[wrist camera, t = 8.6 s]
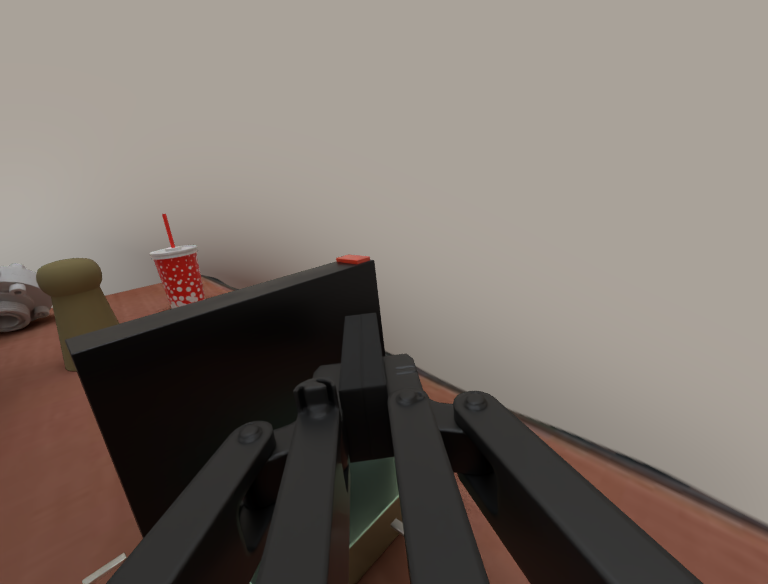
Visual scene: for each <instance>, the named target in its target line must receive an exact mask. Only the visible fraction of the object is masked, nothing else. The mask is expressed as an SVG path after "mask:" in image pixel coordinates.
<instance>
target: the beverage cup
mask: <svg viewBox="0 0 768 584" xmlns="http://www.w3.org/2000/svg"><path fill="white" fill-rule="evenodd" d="M162 216H163V219H164V223H165V227H166V230H167V234H168V237H169V241H170V244H171V247H170V248H166V249H161V250H157V251H154V252H151V253H150V256H151V259H153V260H154V262H155V265H156V267H157V270H158V273H159V275H160V278H161V281H162V283H163V286H164V289H165V291H166V294H167V297H168V300H169V302H170V305H171V308H172V309H173V308H177V307H180V306H184V305H187V304H191V303H194V302H197V301H201V300H204V299H205V295H204V290H203V285H202V280H201V275H200V270H199V265H198V259H197V254H196V252H197V251H198V250H197V246H196V245H188V246H176V247H175V245H174V242H173V238H172V234H171V231H170V227H169V223H168V220H167V216H166V214H163V215H162Z"/></svg>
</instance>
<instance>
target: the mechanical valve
mask: <svg viewBox="0 0 768 584" xmlns="http://www.w3.org/2000/svg"><path fill="white" fill-rule="evenodd" d="M36 274H37V273H36V272H33V271H31V270H27V269H26V268H25V267H24V266H23V265H22V264H11V265H9V266H0V332H9V331H15V330H19V329H21V328H24V327H26V326H27V325H28V324H29V323H30V321H33V320H36V319H38V318H44V317H47V316H48V315H49V310H50V309H51V306H52V301H51V296H49V295H47V294H46V293H44V292H43V291H42V290H41V289H40V288H39V286H38V284H37V281H36Z"/></svg>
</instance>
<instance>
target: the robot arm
mask: <svg viewBox="0 0 768 584" xmlns="http://www.w3.org/2000/svg"><path fill="white" fill-rule="evenodd" d="M293 392H294V397H295V402H296V407H297V412H298V416H297V420H296V421H294V422H293V423H291V424H289V425H286V426H284V427H281V428H278V429H275V430H273V428H272V425H271V424H270V423H269V422H266V421H253V422H249V423H246V424H244V425H242V426H240V427H238V428H237V429H235V430H234V431H233V432H232V433H231V434H230V435H229V436H228V437H227V439H226V440H225V441H224V442H223V443H222V445H221V446H220V447H219V448H218V449H217V451H216V452H215V453H214V454H213V455H212V457H211V458H210V459H209V460H208V461H207V463H206V464H205V465H204V466H203V467H202V469H201V470H200V471H199V472H198V473H197V475H196V476H195V477H194V478H193V480H192V481H191V482H190V483H189V484H188V486H187V487H186V488H185V489H184V490H183V492H182V493H181V494H180V495H179V496H178V498H177V499H176V500H175V501H174V502H173V504H172V505H171V506H170V507H169V508H168V510H167V511H166V512H165V513H164V514H163V516H162V517H161V518H160V519H159V520H158V522H157V523H156V524H155V525H154V526H153V528H152V529H151V530H150V531H149V532H148V534H147V535H146V536H145V537H144V538H143V540H142V541H141V542H140V543H139V544H138V546H137V547H136V548H135V549H134V550H133V552H132V553H131V554H130V555H129V557H128V558H127V559H126V560H125V561H124V563H123V564H122V565H121V566H120V567H119V569H118V570H117V571H116V572H115V573H114V575H113V576H112V577H111V578H110V579H109V581H108V582H107V583H106V584H249V583H250V581H251V579H252V577H253V575H254V573H255V571H256V569H257V567H258V565H259V563H260V561H261V564H260V568H259V572H258V576H257V580H256V584H349V532H350V477H351V475H350V469H349V463H348V460H349V459H350V463H354V462H361V461H368V460H375V459H382V458H390V457H394V461H395V469H396V477H397V486H398V492H399V500H400V507H401V515H402V523H403V530H404V538H405V546H406V554H407V561H408V569H409V577H410V584H490V583H489V580H488V577H487V574H486V571H485V568H484V565H483V562H482V559H481V556H480V553H479V550H478V547H477V544H476V540H475V537H474V534H473V531H472V528H471V525H470V522H469V519H468V516H467V513H466V510H465V507H464V504H463V501H462V498H461V495H460V492H459V488H458V485H457V482H456V479H455V476H454V473H453V472H455V473H457V474H458V477H459V479H460V481H461V482H462V484H463V485H464V487H465V488H466V490H467V491H468V493H469V494H470V495H471V497H472V498H473V500H474V501H475V503H476V504H477V506H478V507H479V509H480V510H481V512H482V513H483V515H484V516H485V517H486V519H487V520H488V522H489V523H490V525H491V526H492V528H493V529H494V531H495V532H496V534H497V535H498V537H499V538H500V540H501V541H502V542H503V544H504V545H505V547H506V548H507V550H508V551H509V553H510V554H511V556H512V557H513V559H514V560H515V562H516V563H517V564H518V566H519V567H520V569H521V570H522V572H523V573H524V575H525V576H526V578H527V579H528V581H529V582H530V584H703V583H702V582H701V581H700V580H699V579H697V578H696V577H695V576H694V575H693V574H692V573H691V572H690V571H689V570H687V569H686V568H685V567H684V566H683V565H682V564H681V563H680V562H678V561H677V560H676V559H675V558H674V557H673V556H672V555H671V554H669V553H668V552H667V551H666V550H665V549H664V548H663V547H662V546H660V545H659V544H658V543H657V542H656V541H655V540H654V539H653V538H651V537H650V536H649V535H648V534H647V533H646V532H645V531H644V530H642V529H641V528H640V527H639V526H638V525H637V524H636V523H635V522H634V521H632V520H631V519H630V518H629V517H628V516H627V515H626V514H625V513H623V512H622V511H621V510H620V509H619V508H618V507H617V506H616V505H614V504H613V503H612V502H611V501H610V500H609V499H608V498H607V497H605V496H604V495H603V494H602V493H601V492H600V491H599V490H598V489H596V488H595V487H594V486H593V485H592V484H591V483H590V482H589V481H588V480H586V479H585V478H584V477H583V476H582V475H581V474H580V473H579V472H577V471H576V470H575V469H574V468H573V467H572V466H571V465H570V464H568V463H567V462H566V461H565V460H564V459H563V458H562V457H561V456H559V455H558V454H557V453H556V452H555V451H554V450H553V449H552V448H550V447H549V446H548V445H547V444H546V443H545V442H544V441H543V440H541V439H540V438H539V437H538V436H537V435H536V434H535V433H534V432H533V431H531V430H530V429H529V428H528V427H527V426H526V425H525V424H524V423H522V422H521V421H520V420H519V419H518V418H517V417H516V416H515V415H513V414H512V413H511V412H510V411H509V410H508V409H507V408H506V407H504V406H503V405H502V404H501V403H500V402H499V401H498V400H497V399H495V398H494V397H493V396H491V395H490V394H488V393H484V392H481V391H468V392H463V393H461V394H459V395H457V397H456V398H455V399H454V402H453V404H446V403H439V402H436V401H433V400H431V399H429V397H428V395H427V394H426V392H425V391H423V388H422V385H421V382H420V379H419V376H418V373H417V369H416V367H415V363H414V360H413V358H411V357H410V356H409V355H407V354H399V355H391V356H384V357H382V350H381V343H380V336H379V329H378V322H377V315H376V313H368V314H360V315H352V316H345V322H344V334H343V345H342V356H341V363H337V364H329V365H321V366H319V368H318V369H317V370H316V371H315V372H314V374H313V378H312V379H308V380H306V381H304V382H302V383H300V384H299V385H298V386H296V388H295V389H294V391H293ZM261 559H262V560H261Z"/></svg>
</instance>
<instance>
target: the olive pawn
mask: <svg viewBox="0 0 768 584" xmlns="http://www.w3.org/2000/svg"><path fill="white" fill-rule="evenodd" d="M36 281H37V284H38V286H39V288H40V289H41V290H42V291H43V292H44V293H46V294H47V295H49V296H51V301H52V305H53V310H54V315H55V320H56V325H57V330H58V334H59V339H60V344H61V349H62V354H63V359H64V363H65V368H66V369H67V370H68V371H76V368H75V366H74V363H73V361H72V358H71V356H70V353H69V351H68V348H67V346H66V343H65V340H66V339H69V338H72V337H76V336H79V335H83V334H86V333H90V332H93V331H97V330H100V329H104V328H107V327H111V326H114V325H117V324H119V322H118V320H117V318H116V316H115V314H114V313H113V311H112V309H111V307H110V305H109V303H108V301H107V299H106V297H105V296H104V294H103V292H102V290H101V288H100V283H101V281H102V272H101V269H100V267H99V266H98V264H97V263H96V262H94V261H93V260H91V259H87V258H72V259H65V260H59V261H55V262H52V263H49V264H46V265H44V266H42V267H41V268H39V269H38V271H37V274H36Z"/></svg>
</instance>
